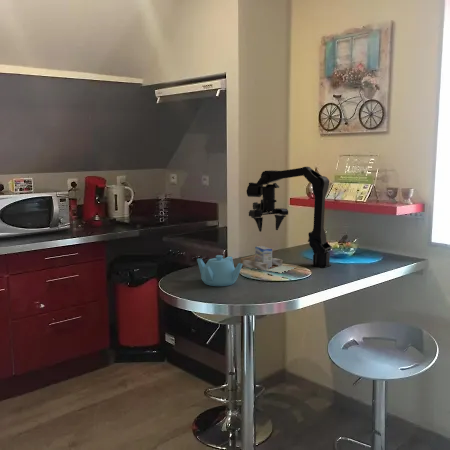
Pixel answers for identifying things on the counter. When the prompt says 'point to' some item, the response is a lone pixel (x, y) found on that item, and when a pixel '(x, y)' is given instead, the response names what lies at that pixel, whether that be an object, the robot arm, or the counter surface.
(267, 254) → the medicine box
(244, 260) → the shelf lane
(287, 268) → the mat
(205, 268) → the teapot
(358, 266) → the counter surface
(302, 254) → the counter surface
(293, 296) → the counter surface
